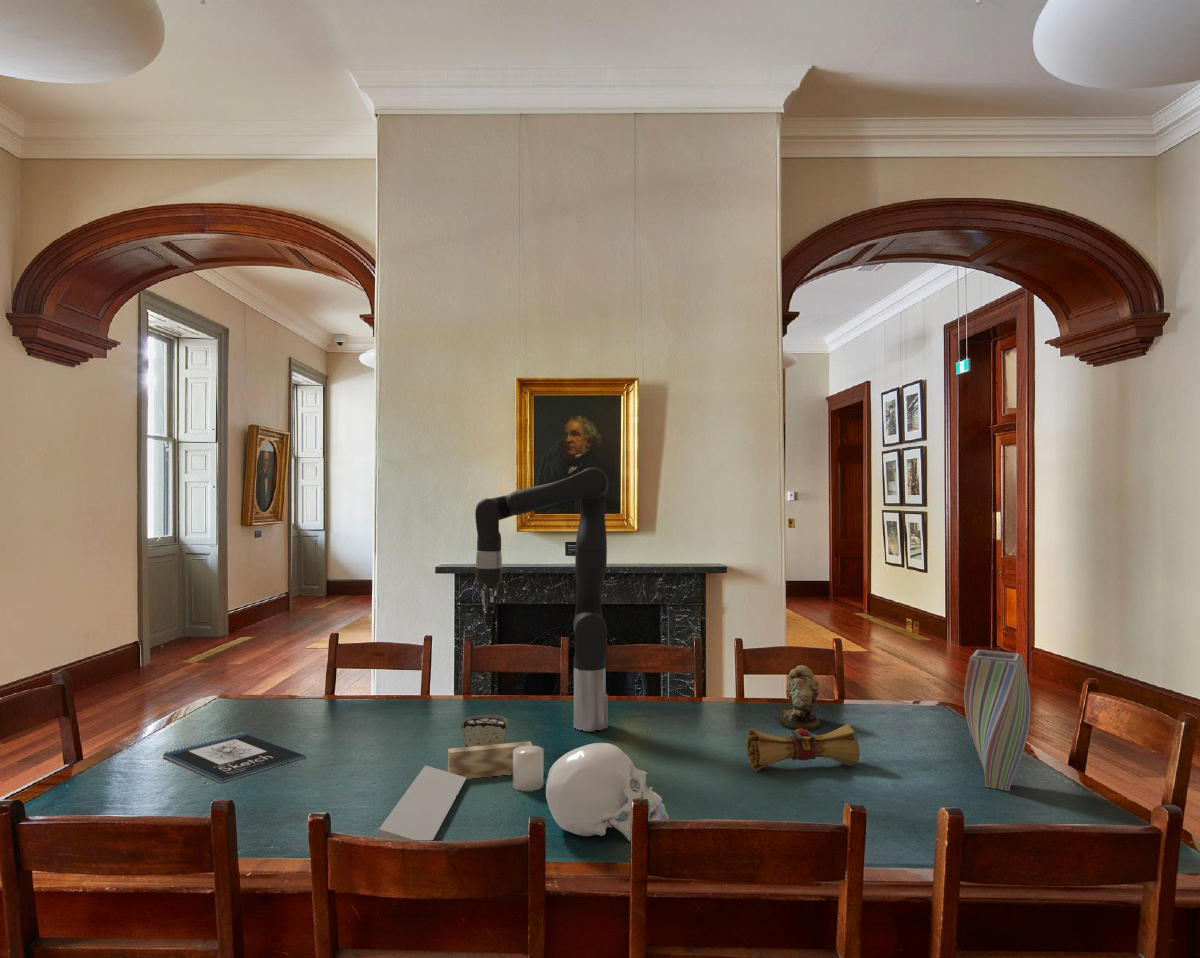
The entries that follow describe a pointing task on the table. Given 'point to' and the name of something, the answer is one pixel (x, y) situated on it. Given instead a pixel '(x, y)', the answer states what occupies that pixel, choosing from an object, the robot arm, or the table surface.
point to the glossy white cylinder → (528, 768)
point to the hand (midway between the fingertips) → (488, 625)
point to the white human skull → (597, 790)
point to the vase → (997, 713)
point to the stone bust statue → (801, 700)
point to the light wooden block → (483, 760)
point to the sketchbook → (232, 757)
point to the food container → (484, 730)
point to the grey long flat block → (423, 806)
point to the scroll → (802, 747)
